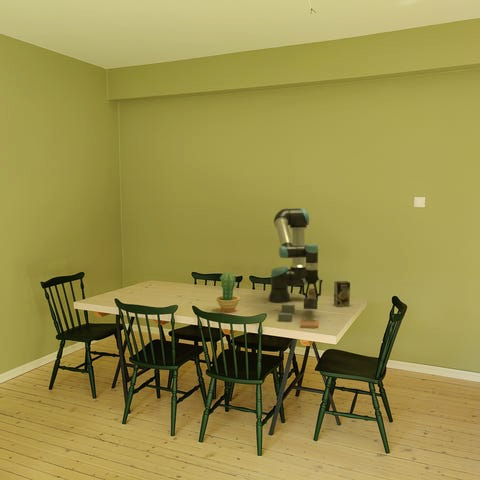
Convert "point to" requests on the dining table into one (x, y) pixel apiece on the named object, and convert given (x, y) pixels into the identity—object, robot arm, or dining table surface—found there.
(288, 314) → the tool rack
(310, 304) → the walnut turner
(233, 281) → the potted cactus
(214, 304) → the dining table surface
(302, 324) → the green rectangular panel
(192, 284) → the dining table surface
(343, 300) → the coffee box
